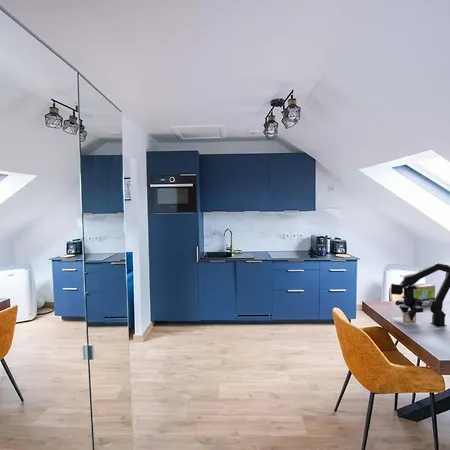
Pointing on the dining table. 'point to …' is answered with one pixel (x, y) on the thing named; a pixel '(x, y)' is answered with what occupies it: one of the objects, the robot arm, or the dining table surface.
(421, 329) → the dining table surface
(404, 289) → the robot arm
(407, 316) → the tile
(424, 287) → the tea box
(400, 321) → the mat
